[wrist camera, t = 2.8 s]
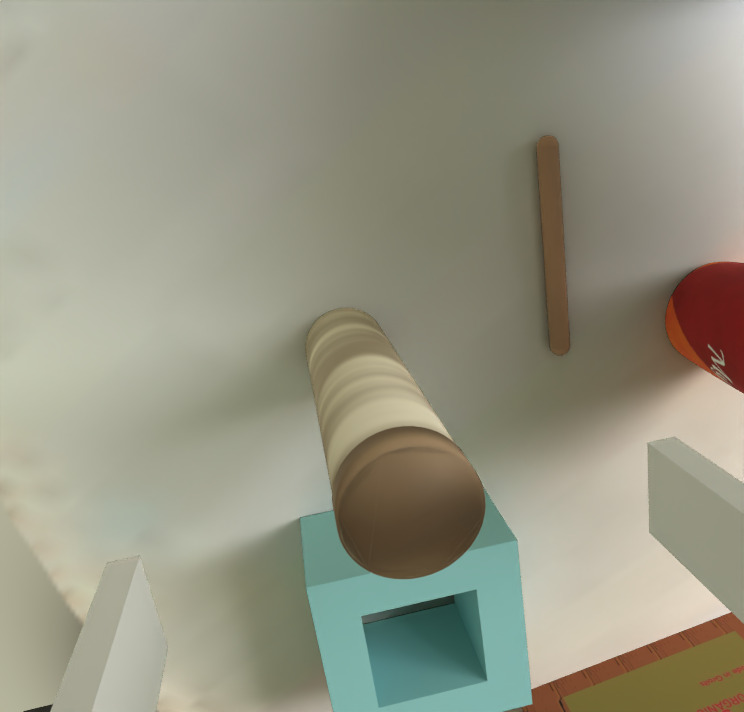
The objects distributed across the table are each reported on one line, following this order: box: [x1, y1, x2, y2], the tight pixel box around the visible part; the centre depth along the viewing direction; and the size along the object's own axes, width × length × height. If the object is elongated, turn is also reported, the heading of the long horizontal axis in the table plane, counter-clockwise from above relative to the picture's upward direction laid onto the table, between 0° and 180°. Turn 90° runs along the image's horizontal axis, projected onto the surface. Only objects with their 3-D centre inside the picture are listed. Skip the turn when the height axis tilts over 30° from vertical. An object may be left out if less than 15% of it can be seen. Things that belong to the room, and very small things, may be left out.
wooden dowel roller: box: [305, 308, 486, 579], centre depth 25 cm, size 4×4×16 cm
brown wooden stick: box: [537, 135, 570, 356], centre depth 32 cm, size 11×1×1 cm, turn 9°
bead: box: [300, 488, 532, 712], centre depth 34 cm, size 10×10×6 cm
